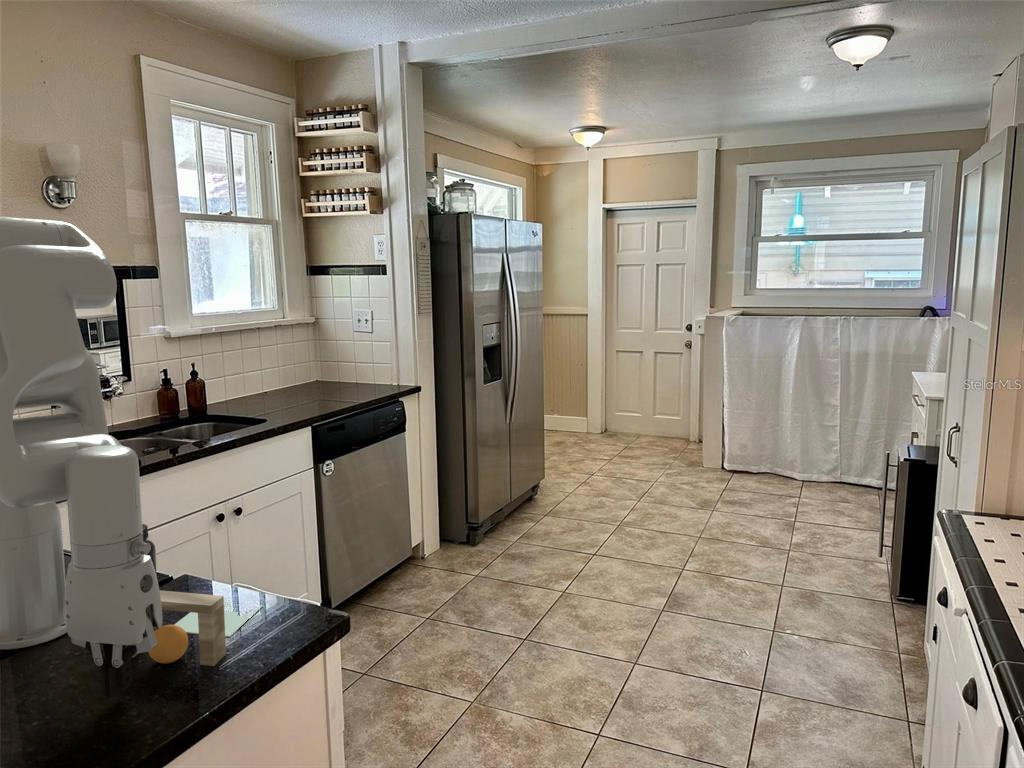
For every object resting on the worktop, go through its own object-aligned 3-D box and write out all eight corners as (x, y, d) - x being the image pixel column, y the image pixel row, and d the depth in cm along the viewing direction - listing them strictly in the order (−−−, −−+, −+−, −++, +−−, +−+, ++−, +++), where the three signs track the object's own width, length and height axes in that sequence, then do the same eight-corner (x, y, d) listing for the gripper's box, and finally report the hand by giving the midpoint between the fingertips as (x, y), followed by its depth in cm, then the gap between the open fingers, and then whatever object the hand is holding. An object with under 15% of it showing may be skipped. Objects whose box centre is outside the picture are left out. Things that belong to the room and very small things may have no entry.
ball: (163, 653, 98) (140, 669, 93) (162, 618, 98) (138, 632, 93) (196, 654, 98) (174, 670, 93) (195, 619, 98) (173, 633, 93)
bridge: (213, 666, 95) (211, 605, 94) (120, 656, 97) (116, 597, 95) (225, 654, 98) (223, 595, 96) (134, 645, 100) (131, 587, 98)
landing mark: (167, 631, 104) (167, 630, 104) (205, 601, 114) (205, 600, 114) (230, 637, 102) (229, 636, 102) (263, 606, 112) (263, 605, 112)
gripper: (184, 542, 86) (191, 680, 89) (75, 534, 88) (85, 668, 91) (144, 566, 79) (153, 715, 82) (26, 556, 81) (39, 702, 84)
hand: (117, 690), depth 86 cm, fingers closed
